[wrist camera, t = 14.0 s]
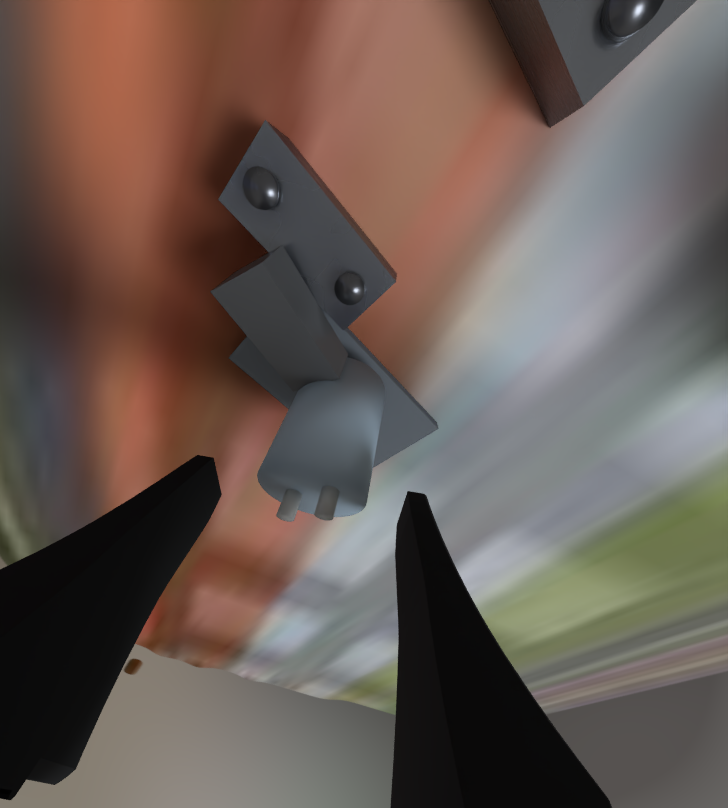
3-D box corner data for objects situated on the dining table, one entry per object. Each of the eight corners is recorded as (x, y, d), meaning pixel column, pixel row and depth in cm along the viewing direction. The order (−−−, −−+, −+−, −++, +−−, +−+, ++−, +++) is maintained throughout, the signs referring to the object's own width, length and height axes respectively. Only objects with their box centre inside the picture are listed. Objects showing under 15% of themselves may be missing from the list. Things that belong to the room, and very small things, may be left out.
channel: (245, 203, 12) (212, 198, 10) (549, -266, 7) (622, -508, 4) (350, 317, 14) (341, 333, 12) (648, 34, 9) (730, -29, 7)
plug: (219, 281, 12) (76, 393, 7) (301, 233, 10) (181, 343, 5) (331, 422, 18) (292, 539, 13) (398, 409, 16) (381, 540, 11)
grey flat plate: (233, 353, 16) (228, 357, 16) (299, 276, 14) (295, 278, 13) (365, 466, 20) (364, 473, 19) (437, 422, 17) (438, 428, 17)
